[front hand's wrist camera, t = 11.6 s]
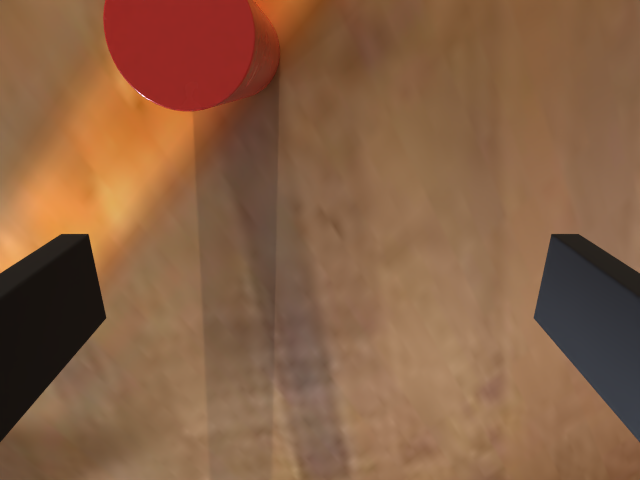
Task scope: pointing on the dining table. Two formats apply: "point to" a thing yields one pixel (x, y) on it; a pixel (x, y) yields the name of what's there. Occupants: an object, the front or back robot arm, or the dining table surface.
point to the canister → (192, 50)
